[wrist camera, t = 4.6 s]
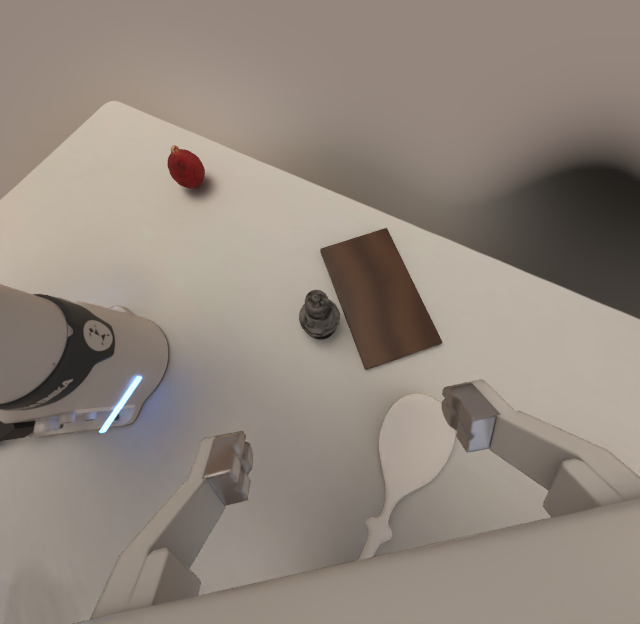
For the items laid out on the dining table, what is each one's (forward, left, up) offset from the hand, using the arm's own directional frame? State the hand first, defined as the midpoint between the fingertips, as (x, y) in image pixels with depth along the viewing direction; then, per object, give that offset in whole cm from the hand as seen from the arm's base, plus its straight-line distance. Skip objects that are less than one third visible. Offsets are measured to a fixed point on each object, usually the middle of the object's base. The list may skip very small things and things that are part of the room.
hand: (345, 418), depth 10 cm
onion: (-13, +45, -28) cm, 55 cm away
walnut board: (+11, +13, -27) cm, 32 cm away
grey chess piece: (+1, +11, -28) cm, 30 cm away
